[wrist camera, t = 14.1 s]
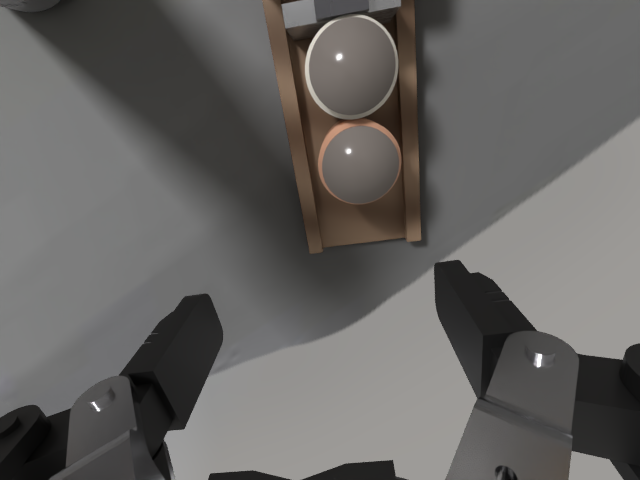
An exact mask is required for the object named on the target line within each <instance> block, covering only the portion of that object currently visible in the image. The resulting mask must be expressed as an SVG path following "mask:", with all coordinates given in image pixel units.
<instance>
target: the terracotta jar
mask: <svg viewBox="0 0 640 480" xmlns="http://www.w3.org/2000/svg"><path fill="white" fill-rule="evenodd" d="M400 170H401V152H400V148H399V145H398V143H397V141H396V139H395V138H394V136H393V135H392V134H391V133H390V132H389V131H388V130H387V129H386V128H384V127H383V126H381V125H379V124H378V123H376V122H374V121H372V120H371V119H368V118H365V117H363V118H359V119H352V120H348V119H342V120H340V121H338V122H337V123H335V124H334V125H333V126H332V127H331V128H330V129H329V130H328V132H327V133H326V135H325V137H324V139H323V142H322V145H321V149H320V153H319V158H318V171H319V175H320V178H321V181H322V183H323V185H324V186H325V188H326V189H327V190H328V192H329V193H330V194H332V195H333V196H334V197H335V198H337V199H339V200H341V201H343V202H346V203H350V204H366V203H370V202H373V201H376V200H378V199H379V198H381V197H383V196H384V195H385V194H386V193H388V191H389V190H390V189H391V188H392V187H393V186H394V184H395V182H396V181H397V179H398V176H399V173H400Z"/></svg>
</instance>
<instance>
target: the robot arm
mask: <svg viewBox="0 0 640 480" xmlns="http://www.w3.org/2000/svg"><path fill="white" fill-rule="evenodd" d="M59 1H61V0H0V6H1V7H6V8H10V9H13V10H18V11H24V12H39V11H43V10H46V9H48V8H51V7H53V6H54V5H56V4H57V3H58V2H59ZM434 275H435V277H434V279H435V303H436V309H437V313H438V317H439V320H440V322H441V324H442V326H443V328H444V330H445V332H446V334H447V336H448V338H449V340H450V342H451V344H452V347H453V349H454V351H455V353H456V355H457V357H458V359H459V361H460V363H461V365H462V367H463V369H464V371H465V374H466V376H467V378H468V380H469V382H470V384H471V386H472V388H473V390H474V392H475V394H476V396H477V401H476V403H475V405H474V408H473V410H472V413H471V415H470V418H469V420H468V423H467V426H466V428H465V431H464V433H463V436H462V438H461V441H460V444H459V446H458V449H457V451H456V454H455V456H454V459H453V462H452V464H451V467H450V469H449V472H448V474H447V477H446V479H445V480H568V477H569V468H570V459H571V451H575V452H580V453H584V454H588V455H593V456H597V457H602V458H606V459H610V461H611V462H612V464H613V465H614V466H615V468H616V469H617V471H618V472H619V474H620V475H621V476H622V478H623V479H624V480H640V344H635V345H633V346H630V347H629V348H628V349H627V350H626V352H625V355H624V358H623V360H619V359H611V358H603V357H595V356H586V355H581V354H577V353H576V352H575V351H574V349H573V348H572V347H571V346H570V345H568V344H567V343H565V342H564V341H563V340H561V339H559V338H557V337H555V336H553V335H550V334H547V333H543V332H539V331H537V330H536V329H535V328H534V327H533V325H532V324H531V323H530V322H529V321H528V320H527V319H526V317H525V316H524V315H523V314H522V313H521V312H520V311H519V309H518V308H517V307H516V306H515V305H514V304H513V303H512V301H509V298H508V297H507V296H506V295H505V294H504V293H503V292H502V290H501V289H500V288H499V287H498V285H497V284H496V283H495V282H494V281H493V280H492V279H490V278H488V277H486V276H484V275H483V274H481V273H479V272H477V273H469V272H468V271H467V269H466V268H465V266H464V265H463V264H462V263H461V261H459V260H454V261H446V262H438V263H435V265H434ZM222 342H223V330H222V326H221V323H220V321H219V318H218V316H217V313H216V310H215V308H214V305H213V303H212V300H211V298H210V296H209V295H208V294H199V295H192V296H186V297H184V298H183V299H182V301H181V302H180V303H179V305H178V306H177V307H176V309H175V310H174V312H171V313H170V314H169V315H168V316H166V317H165V318H164V319H163V320H161V321H160V322H159V323H158V325H157V326H156V327H155V329H154V330H153V331H152V332H151V335H149V336H148V338H147V339H146V340H145V342H144V344H142V346H141V347H140V348H139V350H138V351H137V352H136V353H135V355H134V356H133V357H132V359H131V360H130V361H129V363H128V364H127V365H126V367H125V368H124V369H123V371H122V372H121V373H120V374H119V376H114V377H110V378H107V379H105V380H102V381H100V382H99V383H97V384H95V385H94V386H92V387H91V388H89V389H88V390H87V391H85V392H84V393H83V394H82V395H81V396H80V397H79V398H78V399H77V400H76V402H75V403H74V405H73V406H72V408H71V409H68V410H65V411H62V412H60V413H57V414H54V415H51V416H48V417H46V416H45V414H44V413H43V412H42V411H41V409H40V408H39V407H38V406H36V405H28V406H24V407H21V408H18V409H16V410H13V411H11V412H9V413H7V414H6V415H4V416H2V417H1V418H0V480H176V479H175V475H174V471H173V467H172V463H171V459H170V455H169V451H168V447H167V444H166V442H165V441H164V437H165V435H166V433H167V431H170V430H182V429H185V426H186V424H187V422H188V420H189V417H190V415H191V413H192V411H193V408H194V406H195V404H196V402H197V399H198V397H199V395H200V393H201V390H202V388H203V386H204V384H205V381H206V379H207V377H208V374H209V372H210V370H211V368H212V365H213V363H214V361H215V359H216V356H217V354H218V352H219V350H220V347H221V345H222ZM208 480H290V479H286V478H282V477H278V476H273V475H269V474H265V473H261V472H257V471H239V472H226V473H212V474H210V475H209V479H208ZM303 480H407V479H404V478H399V477H396V476H395V470H394V464H393V460H389V461H376V462H362V463H348V464H344V465H341V466H338V467H335V468H333V469H330V470H327V471H324V472H322V473H319V474H316V475H313V476H311V477H308V478H305V479H303Z"/></svg>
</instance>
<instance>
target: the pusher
mask: <svg viewBox="0 0 640 480" xmlns="http://www.w3.org/2000/svg"><path fill="white" fill-rule="evenodd" d="M281 5H282V11H283V17H284V23H285V29H286V30H287V32H288V33H289V34H290V36H291V37H292V39H293V40H294V41H296V40H301V39H306V38H312V37H315V35H316V34H317V33H318V31H319V30H320V29H321V28H322V27H323V26H324V25H325V24H327V23H328V22H330V21H331V20H333V19H335V18H337V17H339V16H343V15H347V14H360V15H365V16H368V17H370V18H372V19H374V20H376V21H377V22H379V23H380V24H385V23H389V22H390V21H391V19H392V18H393V16H394V15H395V14H396V12H397V11H398V10H399V8H400V7H401V0H300V1H296V2H291V3H286V4H281Z"/></svg>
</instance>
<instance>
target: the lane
mask: <svg viewBox="0 0 640 480" xmlns="http://www.w3.org/2000/svg"><path fill="white" fill-rule="evenodd" d="M262 1H263V7H264V12H265V17H266V23H267V28H268V33H269V39H270V44H271V49H272V55H273V60H274V65H275V71H276V76H277V81H278V86H279V92H280V97H281V102H282V108H283V113H284V118H285V124H286V129H287V134H288V140H289V145H290V150H291V156H292V161H293V166H294V172H295V177H296V182H297V188H298V193H299V198H300V204H301V209H302V214H303V220H304V225H305V230H306V236H307V241H308V246H309V252H310V254H313V253H321V252H323V248H324V247H332V246H340V245H348V244H356V243H365V242H373V241H381V240H389V239H397V238H406V240H407V242H412V241H420V240H421V218H420V183H419V148H418V113H417V78H416V43H415V7H414V0H401V7H400V8H399V10H398V11H397V12H396V14H395V15H394V16H393V18H392V19H391V21H390V22H389V23H385V24H381V25H382V26H383V27H384V28H385V29H386V30H387V31H388V33H389V34H390V36H391V37H392V39H393V41H394V44H395V46H396V50H397V54H398V75H397V79H396V83H395V86H394V88H393V90H392V92H391V94H390V96H389V97H388V99H387V100H386V101H385V103H384V104H383V105H382V106H381V107H380V108H379V109H377V110H376V111H375V112H373V113H371V114H370V115H368V116H365V118H368V119H371V120H372V121H374V122H376V123H378V124H379V125H381V126H383V127H384V128H386V129H387V130H388V131H389V132H390V133H391V134H392V135H393V136H394V138H395V139H396V141H397V143H398V145H399V148H400V152H401V170H400V173H399V176H398V179H397V181H396V182H395V184H394V186H393V187H392V188H391V189H390V190H389V191H388V193H386V194H385V195H384V196H383V197H381V198H379V199H378V200H376V201H373V202H370V203H366V204H350V203H346V202H343V201H341V200H339V199H337V198H335V197H334V196H333V195H332V194H330V193H329V192H328V190H327V189H326V188H325V186H324V185H323V183H322V181H321V178H320V175H319V171H318V158H319V153H320V149H321V145H322V142H323V139H324V137H325V135H326V133H327V132H328V130H329V129H330V128H331V127H332V126H333V125H334V124H335V123H337V122H338V121H340V120H342V119H340V118H337V117H334V116H332V115H330V114H328V113H327V112H325V111H324V110H323V109H322V108H320V107H319V105H318V104H317V103H316V102H315V100H314V99H313V97H312V96H311V94H310V91H309V89H308V86H307V82H306V77H305V61H306V56H307V52H308V49H309V46H310V44H311V42H312V40H313V38H314V37H312V38H306V39H301V40H296V41H294V40H293V39H292V37H291V36H290V34H289V33H288V32H287V30H286V29H285V23H284V17H283V11H282V5H281V4H286V3H291V2H296V1H300V0H262Z"/></svg>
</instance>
